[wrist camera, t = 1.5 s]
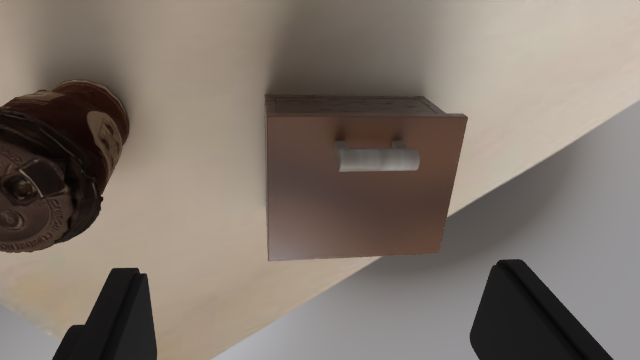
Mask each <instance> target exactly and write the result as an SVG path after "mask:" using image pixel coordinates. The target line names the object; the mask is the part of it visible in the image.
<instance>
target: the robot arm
mask: <svg viewBox="0 0 640 360" xmlns="http://www.w3.org/2000/svg"><path fill="white" fill-rule="evenodd" d="M470 342H471V345H472V348H473V349H474V351H475V353H476V354H477V356H478V358H479V359H480V360H613V359H612V358H611V356H610V355H609V354H608V353H607V352H606V351H605V350H604V349H603V348H602V347H601V345H600V344H599V343H598V342H597V341H596V340H595V339H594V338H593V337H592V336H591V335H590V333H589V332H588V331H587V330H586V329H585V328H584V327H583V326H582V325H581V324H580V322H579V321H578V320H577V319H576V318H575V317H574V316H573V315H572V314H571V313H570V312H569V310H567V308H566V307H565V306H564V305H563V304H562V303H561V302H560V301H559V299H558V298H556V296H555V295H554V294H553V293H552V292H551V291H550V290H549V288H548V287H547V286H546V285H545V284H544V283H543V282H542V281H541V280H540V279H539V278H538V276H537V275H536V274H535V273H534V272H533V271H532V270H531V269H530V268H529V267H528V266H527V264H526V263H525V262H524V261H522V260H519V259H513V260H499V261H498V262H497V264H496V265H494V266H493V267H492V269H491V271H490V274H489V277H488V280H487V283H486V286H485V289H484V292H483V295H482V298H481V302H480V305H479V307H478V311H477V314H476V317H475V320H474V323H473V326H472V329H471V332H470ZM52 360H157V346H156V339H155V331H154V323H153V316H152V308H151V300H150V293H149V285H148V278H147V274H145V273H143V274H140V272H139V269H138V268H113V269H112V270H111V272H110V274H109V276H108V278H107V280H106V282H105V284H104V286H103V288H102V290H101V292H100V295H99V297H98V299H97V301H96V303H95V305H94V307H93V309H92V311H91V313H90V315H89V318H88V320H87V322H86V324H85V325H73V326H71V327H70V328H69V329H68V331H67V332H66V334H65V336H64V338H63V340H62V342H61V344H60V346H59V347H58V349H57V351H56V353H55V355H54V357H53V359H52Z"/></svg>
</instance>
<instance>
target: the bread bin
mask: <svg viewBox="0 0 640 360" xmlns="http://www.w3.org/2000/svg"><path fill="white" fill-rule="evenodd" d="M267 113H429V114H446V113H445V112H443V111H442V110H441V109H439V108H438V107H437V106H435V105H434V104H433V103H431V102H430V101H429V100H428V99H426V98H425V97H421V96H331V95H265V164H266V220H267V245H268V215H267V115H266V114H267Z"/></svg>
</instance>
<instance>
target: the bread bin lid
mask: <svg viewBox="0 0 640 360" xmlns="http://www.w3.org/2000/svg"><path fill="white" fill-rule="evenodd" d="M266 115H267V215H268V261H283V260H305V259H327V258H349V257H372V256H393V255H416V254H438V253H439V250H440V246H441V241H442V236H443V231H444V227H445V222H446V218H447V213H448V208H449V204H450V199H451V194H452V190H453V185H454V180H455V176H456V171H457V166H458V161H459V157H460V152H461V147H462V143H463V138H464V133H465V129H466V124H467V119H468V117H467V116H466V115H464V114H429V113H267V114H266Z"/></svg>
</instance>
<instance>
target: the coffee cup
mask: <svg viewBox="0 0 640 360" xmlns="http://www.w3.org/2000/svg"><path fill="white" fill-rule="evenodd" d="M128 135H129V123H128V118H127V115H126V112H125V111H124V109H123V107H122V105H121V103H120V101H119V100H118V98H116V97H115V96H114V95H113V94H112V93H111V92H110V91H109V90H108V89H107V88H106V87H105V86H103V85H99V84H94V83H91V82H89V81H86V80H83V81H78V80H72V81H68V82H64V83H62V84H60V85H58V86H57V87H56V88H55V89H54V90H53V91H52V92H50V91H46V90H39V91H37V92H35V93H33V94H29V95H23V96H21V97H15V98H14V99H13V100H11V101H9V102H8V103H6V104H5V105H4V106H2V107H0V251H4V252H8V253H12V252H15V253H19V252H33V251H37V250H43V249H45V248H48V247H51V246H52V245H53V244H57V243H60V242H65V241H68V240H70V239H71V238H73V237H75V236H77V235H79V234H81V233H82V232H84V231H85V230H86V229H87V228H89V227H90V226H91V224H93V222H94V221H95V220H96V218H97V216H98V215H99V211H100V210H101V206H100V205H101V202H102V201H103V197H101V195H102V193H103V191H104V189H105V187H106V185H107V183H108V181H109V179H110V177H111V175H112V173H113V171H114V169H115V166H116V164H117V162H118V160H119V157H120V155H121V152H122V146H123V145H124V144H125V142H126V140H127V138H128Z"/></svg>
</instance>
